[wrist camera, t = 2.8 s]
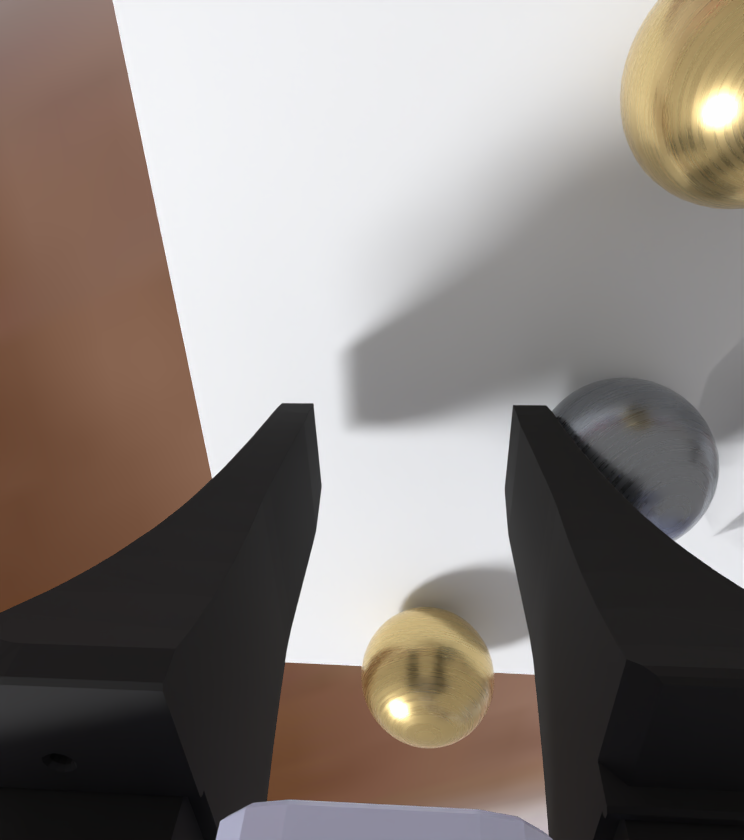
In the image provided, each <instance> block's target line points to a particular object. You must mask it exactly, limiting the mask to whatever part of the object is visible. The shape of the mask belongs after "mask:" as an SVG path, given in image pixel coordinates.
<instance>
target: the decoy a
mask: <svg viewBox="0 0 744 840" xmlns="http://www.w3.org/2000/svg"><path fill="white" fill-rule="evenodd" d="M361 681H362V688H363V693H364V697H365V700H366V703H367V705H368V708H369V710H370V712H371V713H372V715H373V717H374V718H375V720H376V721H377V722H378V723H379V725H380V726H381V727H382V728H383V729H384V730H385V731H386V732H387V733H389V734H390V735H391V736H393V737H394V738H396V739H397V740H399V741H401V742H403V743H406V744H408V745H411V746H415V747H420V748H439V747H444V746H448V745H451V744H453V743H456V742H458V741H460V740H461V739H463V738H465V737H466V736H467V735H469V734H470V733H471V732H472V731H473V730H474V729H475V728H476V727H477V726H478V725H479V723H480V722H481V721H482V719H483V718H484V716H485V714H486V712H487V710H488V708H489V706H490V703H491V699H492V695H493V689H494V670H493V664H492V659H491V656H490V653H489V651H488V649H487V646H486V644H485V642H484V641H483V639H482V638H481V636H480V635H479V634H478V632H477V631H476V630H475V629H474V628H473V627H472V626H471V625H470V624H469V623H468V622H467V621H466V620H464V619H463V618H461V617H459V616H458V615H456V614H454V613H452V612H450V611H447V610H444V609H440V608H434V607H418V608H412V609H408V610H405V611H403V612H400V613H398V614H396V615H395V616H393V617H391V618H390V619H388V620H387V621H386V622H385V623H384V624H383V625H382V626H381V627H380V628H379V629H378V630H377V631H376V633H375V634H374V635H373V637H372V638H371V640H370V642H369V644H368V646H367V648H366V651H365V654H364V658H363V663H362V674H361Z"/></svg>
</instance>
